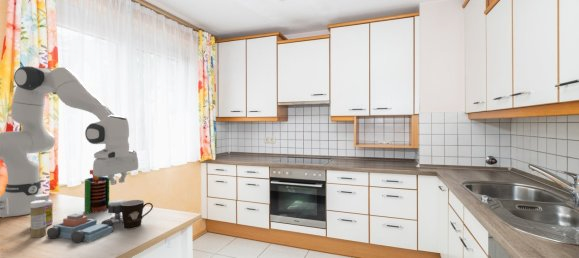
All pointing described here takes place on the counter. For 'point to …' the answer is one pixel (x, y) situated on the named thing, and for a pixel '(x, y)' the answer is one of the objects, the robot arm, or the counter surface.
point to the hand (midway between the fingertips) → (117, 183)
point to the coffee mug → (133, 213)
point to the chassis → (81, 230)
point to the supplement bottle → (48, 207)
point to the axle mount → (117, 218)
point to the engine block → (74, 220)
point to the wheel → (115, 206)
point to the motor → (96, 194)
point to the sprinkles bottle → (38, 218)
